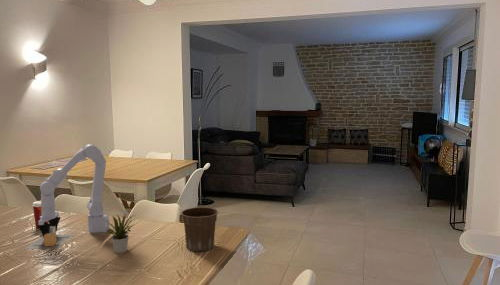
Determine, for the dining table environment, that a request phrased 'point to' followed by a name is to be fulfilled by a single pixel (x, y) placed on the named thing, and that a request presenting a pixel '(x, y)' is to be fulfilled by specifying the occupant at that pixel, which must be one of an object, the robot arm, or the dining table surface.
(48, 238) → the orange fader
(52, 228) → the grey fader
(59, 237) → the console
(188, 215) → the plant pot
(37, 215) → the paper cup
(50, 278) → the dining table surface
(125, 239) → the house plant
